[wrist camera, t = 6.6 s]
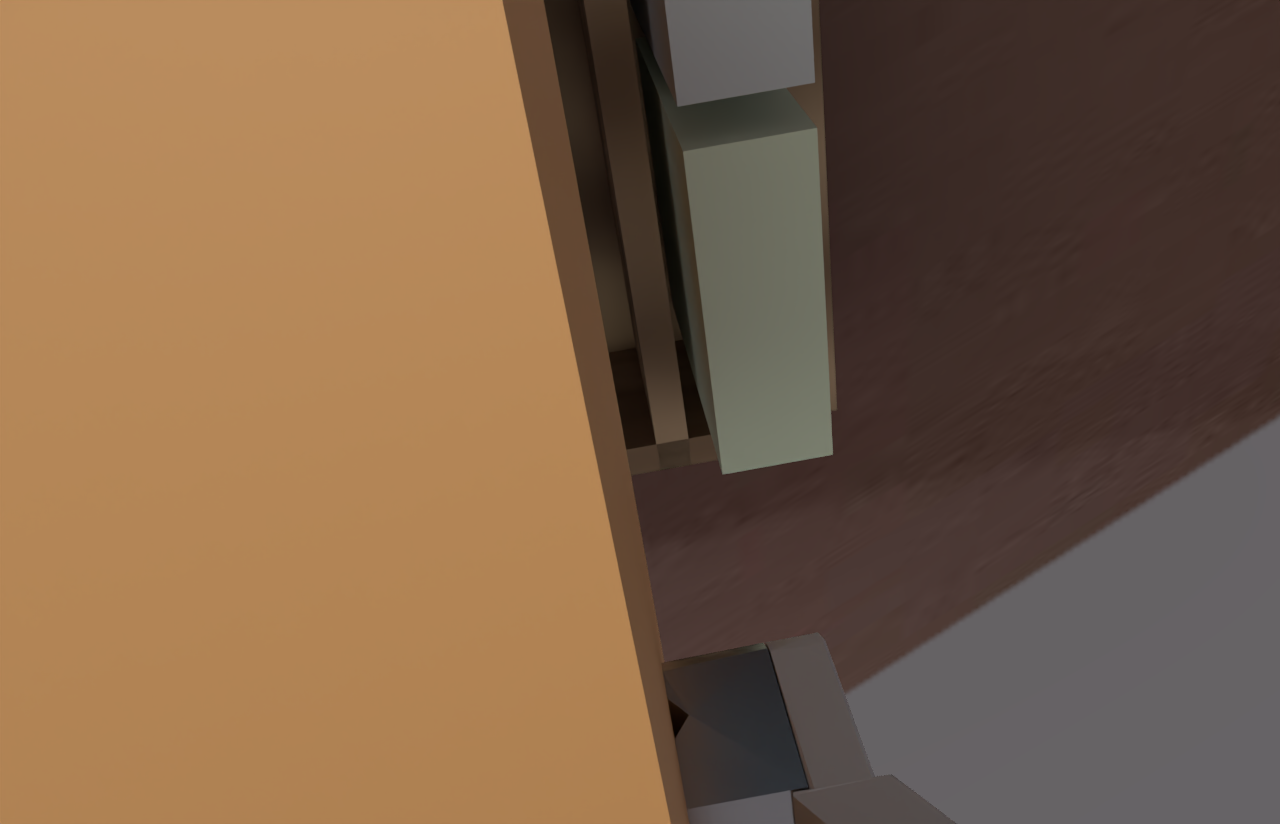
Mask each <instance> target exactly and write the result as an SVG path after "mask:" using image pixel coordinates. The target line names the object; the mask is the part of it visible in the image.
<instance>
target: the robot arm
mask: <svg viewBox="0 0 1280 824" xmlns="http://www.w3.org/2000/svg"><path fill="white" fill-rule="evenodd" d="M661 664H662V671H663V676H664V682H665V688H666V693H667V699H668V704H669V710H670V715H671V720H672V726H673V731H674V736H675V744H676V750H677V756H678V762H679V767H680V773H681V779H682V784H683V790H684V796H685V801H686V807H687V812H688V818H689V823H690V824H956V823H955V822H954V821H952V820H951V819H950V818H948V817H947V816H946V815H945V814H943V813H942V812H941V811H939V810H938V809H937V808H935V807H934V806H933V805H931V804H930V803H929V802H927V801H926V800H925V799H923V798H922V797H921V796H920V795H918V794H917V793H916V792H914V791H913V790H911V789H910V788H909V787H908V786H906V785H905V784H904V783H902V782H901V781H899V780H898V779H897V778H896V777H894V776H893V775H884V776H877V777H875V776H874V773H873V770H872V768H871V765H870V762H869V760H868V757H867V754H866V751H865V748H864V746H863V743H862V740H861V738H860V735H859V732H858V729H857V726H856V724H855V721H854V718H853V715H852V713H851V710H850V708H849V705H848V702H847V699H846V696H845V694H844V691H843V688H842V685H841V683H840V680H839V677H838V674H837V672H836V669H835V666H834V664H833V661H832V658H831V655H830V653H829V650H828V647H827V644H826V642H825V640H824V639H823V637H822V636H821V635H820V634H819V633H813V634H808V635H803V636H798V637H792V638H787V639H782V640H777V641H772V642H767V643H766V645H764V644H763V643H760V644H755V645H750V646H745V647H740V648H734V649H729V650H724V651H719V652H714V653H709V654H704V655H699V656H694V657H689V658H684V659H679V660H674V661H669V662H664V663H661Z"/></svg>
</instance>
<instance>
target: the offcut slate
mask: <svg viewBox="0 0 1280 824" xmlns="http://www.w3.org/2000/svg"><path fill="white" fill-rule="evenodd" d="M630 4H631V6H632V9H633V11H634V13H635V15H636V17H637V20H638V22H639V24H640V26H641V28H642V30H643V33H644V35H645V37H646V39H647V41H648V44H649V46H650V48H651V50H652V52H653V54H654V57H655V59H656V61H657V63H658V65H659V68H660V70H661V72H662V74H663V76H664V78H665V81H666V83H667V85H668V87H669V89H670V92H671V94H672V96H673V98H674V100H675V102H676V105H677V107H679V106H685V105H691V104H696V103H702V102H708V101H713V100H719V99H725V98H731V97H736V96H742V95H748V94H753V93H759V92H765V91H770V90H776V89H782V88H787V87H793V86H799V85H804V84H810V83H815V71H814V50H813V29H812V8H811V0H630Z"/></svg>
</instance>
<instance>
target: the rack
mask: <svg viewBox="0 0 1280 824" xmlns="http://www.w3.org/2000/svg"><path fill="white" fill-rule="evenodd" d="M544 5H545V10H546V16H547V21H548V27H549V32H550V38H551V43H552V49H553V54H554V59H555V65H556V70H557V76H558V81H559V87H560V92H561V97H562V103H563V108H564V114H565V119H566V125H567V130H568V136H569V141H570V146H571V152H572V157H573V163H574V168H575V174H576V179H577V184H578V190H579V195H580V201H581V206H582V212H583V217H584V223H585V228H586V233H587V239H588V244H589V250H590V255H591V261H592V266H593V271H594V277H595V282H596V288H597V293H598V299H599V304H600V310H601V315H602V320H603V326H604V331H605V337H606V342H607V348H608V353H609V358H610V364H611V369H612V375H613V380H614V386H615V391H616V397H617V402H618V407H619V413H620V418H621V424H622V429H623V435H624V440H625V446H626V451H627V457H628V463H629V468H630V474H631V475H637V474H642V473H648V472H653V471H659V470H664V469H670V468H675V467H681V466H686V465H692V464H698V463H703V462H709V461H714V460H718V457H717V454H716V451H715V447H714V444H713V440H712V437H711V433H710V430H709V427H708V423H707V420H706V416H705V413H704V410H703V406H702V403H701V399H700V396H699V393H698V389H697V386H696V382H695V379H694V376H693V372H692V369H691V365H690V362H689V359H688V355H687V352H686V348H685V345H684V341H683V338H682V335H681V331H680V328H679V324H678V321H677V318H676V314H675V311H674V307H673V304H672V298H671V291H670V283H669V276H668V269H667V262H666V255H665V248H664V241H663V234H662V226H661V219H660V212H659V205H658V198H657V191H656V184H655V176H654V169H653V162H652V155H651V148H650V141H649V134H648V126H647V119H646V112H645V105H644V98H643V91H642V84H641V76H640V69H639V62H638V55H637V48H636V41H635V39H636V38H641V37H645V35H644V33H643V30H642V28H641V26H640V24H639V22H638V20H637V17H636V15H635V13H634V11H633V9H632V6H631V4H630V0H544ZM811 8H812V29H813V50H814V71H815V83H810V84H804V85H799V86H793V87H787V88H786V89H787V90H788V91H789V92H790V94H791V95H792V96H793V97H794V99H795V100H796V101H797V103H798V104H799V105H800V106H801V108H802V109H803V110H804V112H805V113H806V114H807V115H808V117H809V118H810V119H811V121H812V122H813V123H814V124H815V126H816V127H817V133H818V154H819V175H820V196H821V217H822V238H823V258H824V279H825V300H826V321H827V342H828V363H829V383H830V404H831V411H834V410H837V400H836V377H835V354H834V332H833V309H832V286H831V264H830V241H829V218H828V195H827V173H826V150H825V127H824V105H823V82H822V59H821V36H820V14H819V0H811Z"/></svg>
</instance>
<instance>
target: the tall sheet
mask: <svg viewBox="0 0 1280 824" xmlns="http://www.w3.org/2000/svg"><path fill="white" fill-rule="evenodd" d="M661 663H664V657H663V652H662V646H661V641H660V635H659V629H658V624H657V618H656V613H655V607H654V602H653V596H652V591H651V585H650V579H649V574H648V568H647V563H646V557H645V552H644V546H643V540H642V535H641V529H640V524H639V518H638V513H637V507H636V502H635V496H634V490H633V485H632V479H631V474H630V468H629V463H628V457H627V451H626V446H625V440H624V435H623V429H622V424H621V418H620V413H619V407H618V402H617V397H616V391H615V386H614V380H613V375H612V369H611V364H610V358H609V353H608V348H607V342H606V337H605V331H604V326H603V320H602V315H601V310H600V304H599V299H598V293H597V288H596V282H595V277H594V271H593V266H592V261H591V255H590V250H589V244H588V239H587V233H586V228H585V223H584V217H583V212H582V206H581V201H580V195H579V190H578V184H577V179H576V174H575V168H574V163H573V157H572V152H571V146H570V141H569V136H568V130H567V125H566V119H565V114H564V108H563V103H562V97H561V92H560V87H559V81H558V76H557V70H556V65H555V59H554V54H553V49H552V43H551V38H550V32H549V27H548V21H547V16H546V10H545V5H544V0H0V824H690V823H689V818H688V812H687V807H686V801H685V796H684V790H683V784H682V779H681V773H680V767H679V762H678V756H677V750H676V744H675V736H674V731H673V726H672V720H671V715H670V710H669V704H668V699H667V693H666V688H665V682H664V676H663V671H662V664H661Z"/></svg>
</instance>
